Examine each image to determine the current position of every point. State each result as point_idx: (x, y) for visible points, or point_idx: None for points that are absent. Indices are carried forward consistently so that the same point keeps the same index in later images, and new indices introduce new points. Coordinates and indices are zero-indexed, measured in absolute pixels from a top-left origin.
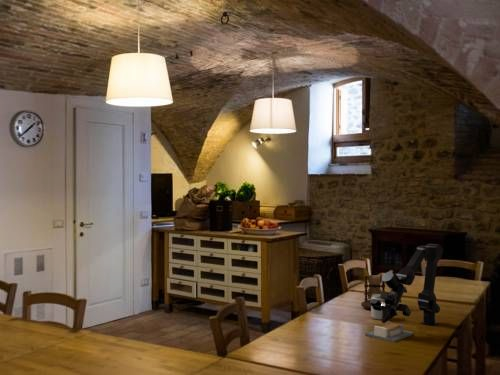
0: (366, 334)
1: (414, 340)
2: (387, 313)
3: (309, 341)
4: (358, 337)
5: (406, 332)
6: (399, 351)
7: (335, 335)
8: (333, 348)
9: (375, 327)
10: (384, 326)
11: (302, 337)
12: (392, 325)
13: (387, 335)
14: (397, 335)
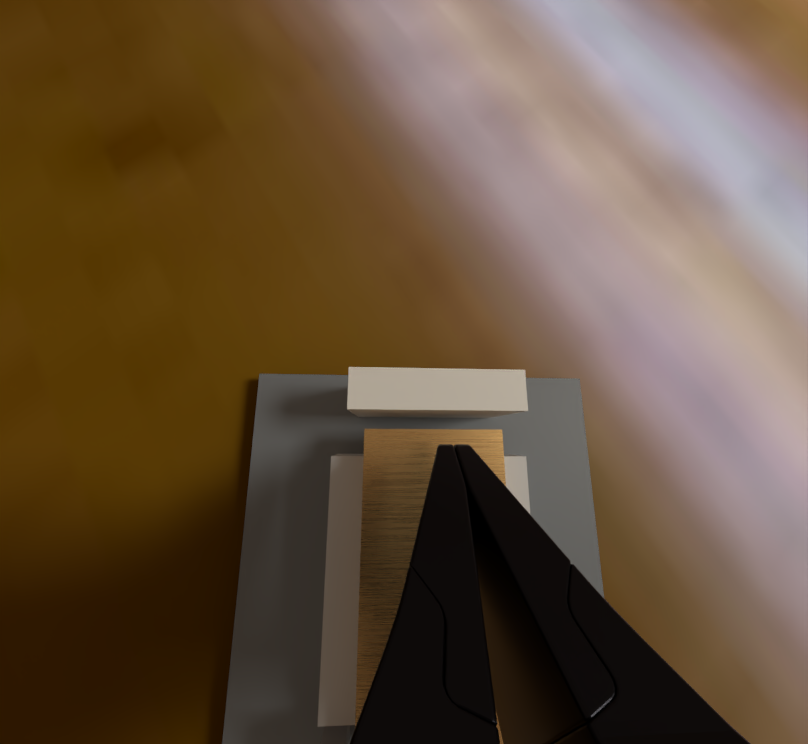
0: (559, 379)
1: (126, 580)
2: (442, 649)
3: (708, 36)
4: (567, 300)
5: None
6: (128, 198)
7: (714, 231)
8: (515, 12)
9: (499, 370)
10: None
11: (799, 70)
12: None
13: None
14: (305, 547)
